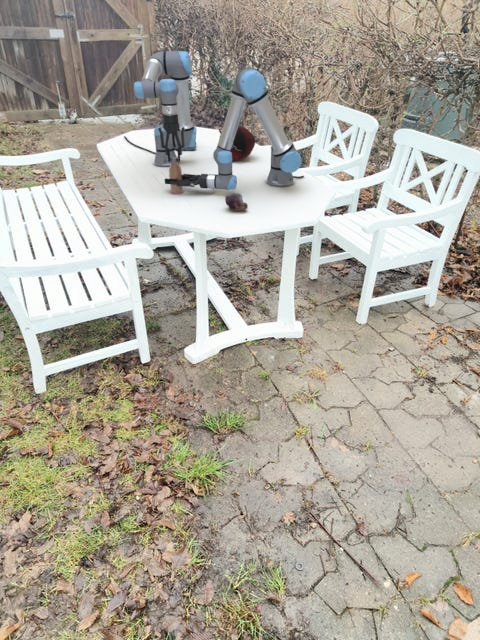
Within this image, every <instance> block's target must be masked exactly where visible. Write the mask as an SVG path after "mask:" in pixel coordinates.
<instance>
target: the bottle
mask: <svg viewBox="0 0 480 640" xmlns="http://www.w3.org/2000/svg"><path fill="white" fill-rule="evenodd" d="M182 171H183V170H182V167H181V166H180V164H179V162H178V163H177V162H172V164H171V166H169V167H168V173H169V174H168V177H169V176H170V179H177V180H182V175H183V172H182ZM169 185H170V186H169V187H170V193H172V194H174V195H178V194H182V193H184V186H176V185H174V184H169Z"/></svg>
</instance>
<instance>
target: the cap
mask: <svg viewBox="0 0 480 640" xmlns="http://www.w3.org/2000/svg"><path fill="white" fill-rule="evenodd" d="M171 162H178V156H176V157H171ZM178 163H179V162H178Z"/></svg>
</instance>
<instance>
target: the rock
mask: <svg viewBox="0 0 480 640" xmlns="http://www.w3.org/2000/svg"><path fill="white" fill-rule="evenodd" d="M224 201H225V204H226V206H227V207H228V209H229V210H231V211H235V212H236V211H245V210H247V209H249V208H248V207H249V206H248V203H247V202H244V200H243V195H242V194H241V193H239V192H236V193H235V192H233V193H231V194H228V195H226V196H225V199H224Z"/></svg>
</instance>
